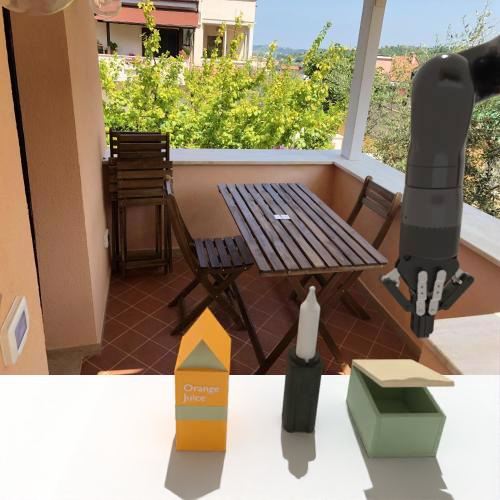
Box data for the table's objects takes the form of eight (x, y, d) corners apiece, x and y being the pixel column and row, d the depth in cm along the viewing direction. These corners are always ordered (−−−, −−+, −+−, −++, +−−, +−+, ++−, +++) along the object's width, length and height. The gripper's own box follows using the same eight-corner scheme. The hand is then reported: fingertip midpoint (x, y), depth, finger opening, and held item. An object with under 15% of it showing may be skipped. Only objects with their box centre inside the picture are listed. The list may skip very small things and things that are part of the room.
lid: (454, 386, 61) (454, 381, 61) (382, 387, 60) (382, 381, 60) (411, 363, 74) (411, 359, 74) (351, 364, 73) (352, 359, 73)
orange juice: (175, 450, 64) (172, 337, 57) (182, 409, 73) (181, 305, 65) (227, 451, 65) (231, 339, 57) (229, 410, 73) (232, 306, 65)
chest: (436, 456, 66) (446, 416, 63) (368, 458, 65) (376, 417, 62) (403, 399, 77) (411, 363, 74) (345, 400, 76) (351, 364, 74)
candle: (284, 432, 69) (297, 294, 59) (281, 410, 73) (293, 278, 64) (315, 433, 69) (333, 294, 60) (310, 410, 74) (326, 279, 64)
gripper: (390, 227, 53) (383, 351, 58) (495, 222, 53) (480, 346, 58) (372, 215, 61) (368, 326, 65) (465, 211, 61) (454, 322, 65)
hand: (421, 335), depth 62 cm, fingers closed
